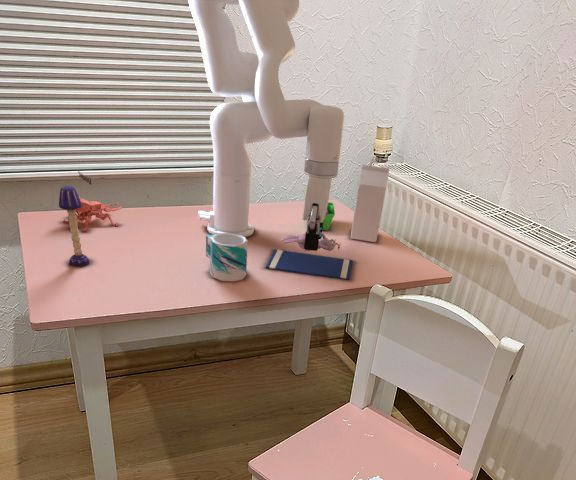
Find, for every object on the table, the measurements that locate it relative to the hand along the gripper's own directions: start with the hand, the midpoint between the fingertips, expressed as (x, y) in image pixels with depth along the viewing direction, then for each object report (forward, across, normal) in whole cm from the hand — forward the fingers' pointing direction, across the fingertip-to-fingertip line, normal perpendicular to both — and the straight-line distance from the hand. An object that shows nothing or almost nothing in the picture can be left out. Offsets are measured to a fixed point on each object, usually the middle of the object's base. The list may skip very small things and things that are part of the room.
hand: (313, 243), depth 138 cm
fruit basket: (+6, -31, -2) cm, 32 cm away
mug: (+6, +11, -19) cm, 23 cm away
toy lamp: (+5, +18, -51) cm, 54 cm away
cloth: (+5, 0, 0) cm, 5 cm away
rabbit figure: (+2, +1, 0) cm, 2 cm away
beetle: (+5, -8, -59) cm, 60 cm away
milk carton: (+6, -26, +12) cm, 29 cm away
